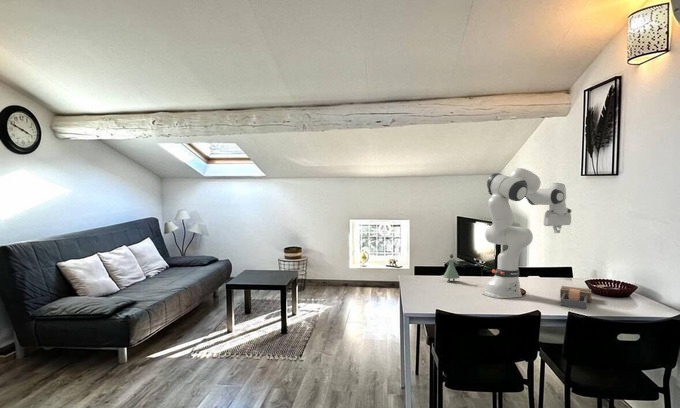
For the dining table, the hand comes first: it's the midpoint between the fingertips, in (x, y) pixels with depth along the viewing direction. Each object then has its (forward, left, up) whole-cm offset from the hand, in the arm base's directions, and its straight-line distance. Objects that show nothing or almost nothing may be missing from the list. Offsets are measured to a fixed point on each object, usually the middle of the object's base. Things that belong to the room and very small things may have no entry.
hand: (557, 233), depth 232 cm
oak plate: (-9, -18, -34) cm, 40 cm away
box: (-20, -24, -34) cm, 46 cm away
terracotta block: (-15, -22, -30) cm, 40 cm away
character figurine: (-42, +43, -34) cm, 69 cm away
